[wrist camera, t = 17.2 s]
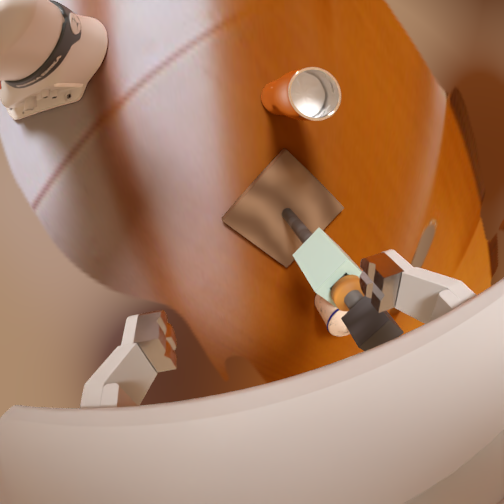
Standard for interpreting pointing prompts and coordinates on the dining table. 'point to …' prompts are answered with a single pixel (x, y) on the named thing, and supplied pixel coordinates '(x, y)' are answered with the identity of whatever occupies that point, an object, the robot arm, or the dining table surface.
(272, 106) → the beer glass
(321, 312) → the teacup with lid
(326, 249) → the marker sleeve
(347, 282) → the post stand
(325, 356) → the dining table surface
